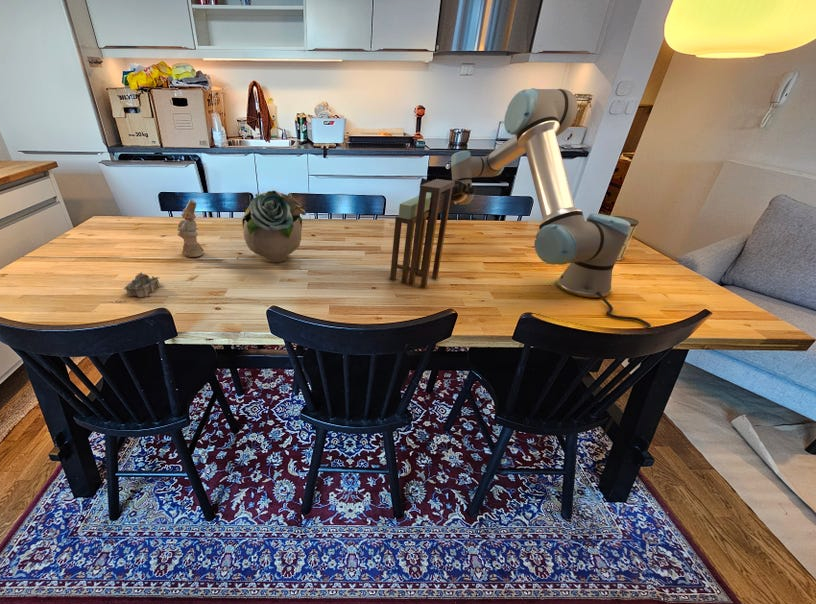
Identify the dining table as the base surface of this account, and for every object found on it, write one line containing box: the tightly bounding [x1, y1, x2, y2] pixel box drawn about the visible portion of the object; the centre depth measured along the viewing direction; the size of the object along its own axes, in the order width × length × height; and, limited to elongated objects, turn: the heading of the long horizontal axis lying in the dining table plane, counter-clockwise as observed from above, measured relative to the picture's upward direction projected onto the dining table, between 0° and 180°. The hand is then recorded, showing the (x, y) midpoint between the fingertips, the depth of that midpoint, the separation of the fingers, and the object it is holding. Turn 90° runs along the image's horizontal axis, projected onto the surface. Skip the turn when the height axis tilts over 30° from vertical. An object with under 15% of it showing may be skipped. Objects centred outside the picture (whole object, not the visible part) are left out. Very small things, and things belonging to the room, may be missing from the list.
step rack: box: [389, 178, 455, 289], centre depth 128 cm, size 12×13×31 cm
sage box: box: [398, 192, 431, 219], centre depth 128 cm, size 20×4×4 cm, turn 145°
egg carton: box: [122, 271, 161, 298], centre depth 126 cm, size 11×8×4 cm
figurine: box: [177, 199, 204, 258], centre depth 148 cm, size 9×8×20 cm
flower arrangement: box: [241, 189, 307, 263], centre depth 144 cm, size 25×25×24 cm
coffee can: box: [612, 215, 640, 261], centre depth 152 cm, size 10×10×14 cm
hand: (440, 184), depth 135 cm, fingers open, 13 cm apart
